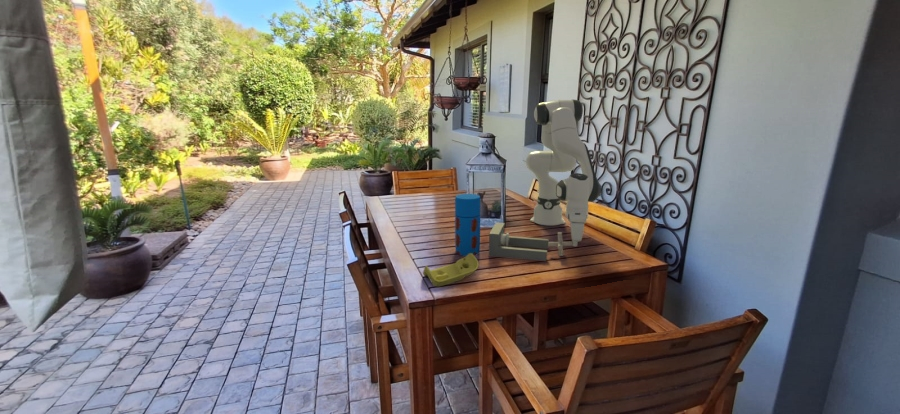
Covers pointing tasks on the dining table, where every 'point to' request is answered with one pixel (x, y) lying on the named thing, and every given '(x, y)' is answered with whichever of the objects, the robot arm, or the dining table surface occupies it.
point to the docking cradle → (518, 253)
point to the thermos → (467, 224)
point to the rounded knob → (505, 239)
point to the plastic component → (452, 271)
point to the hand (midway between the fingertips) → (574, 245)
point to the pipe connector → (560, 244)
